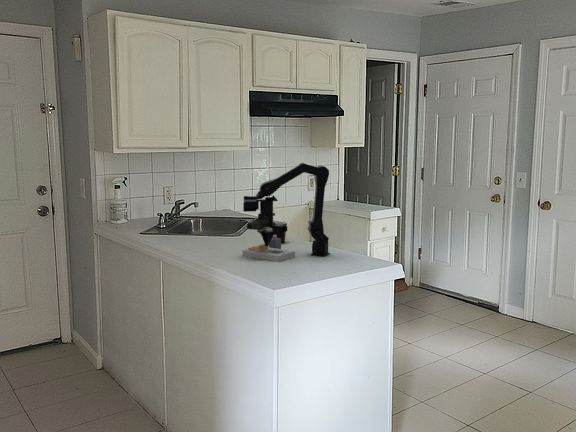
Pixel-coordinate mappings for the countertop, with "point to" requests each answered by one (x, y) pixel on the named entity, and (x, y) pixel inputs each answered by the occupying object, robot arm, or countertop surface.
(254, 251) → the socket plate
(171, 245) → the countertop surface
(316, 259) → the countertop surface
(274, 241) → the plug
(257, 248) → the shutter
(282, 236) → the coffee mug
